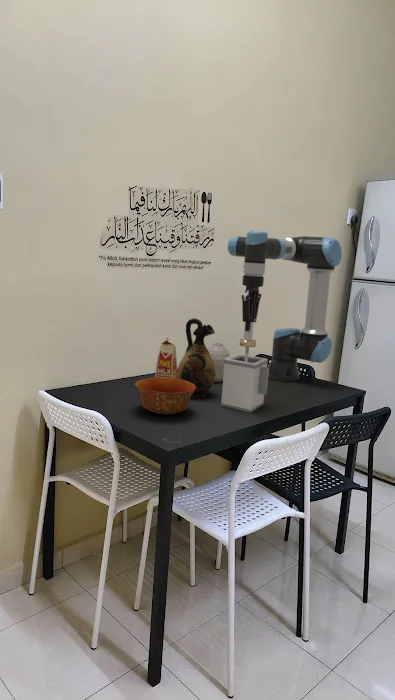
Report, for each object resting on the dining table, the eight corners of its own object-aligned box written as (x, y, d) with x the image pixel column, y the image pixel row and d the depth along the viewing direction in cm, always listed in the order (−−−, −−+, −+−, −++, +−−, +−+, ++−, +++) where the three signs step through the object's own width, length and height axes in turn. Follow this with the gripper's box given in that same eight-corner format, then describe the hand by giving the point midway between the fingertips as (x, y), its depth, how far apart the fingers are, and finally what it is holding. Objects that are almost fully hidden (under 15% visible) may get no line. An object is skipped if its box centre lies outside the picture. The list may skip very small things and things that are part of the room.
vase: (213, 385, 221) (216, 346, 217) (195, 378, 230) (197, 341, 227) (235, 381, 229) (238, 344, 225) (216, 374, 238) (219, 339, 235)
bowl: (150, 398, 196) (151, 373, 194) (202, 408, 189) (204, 382, 187) (123, 414, 177) (124, 386, 175) (180, 425, 170) (181, 396, 168)
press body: (234, 398, 204) (238, 353, 200) (270, 406, 197) (275, 360, 193) (220, 405, 193) (224, 358, 189) (258, 414, 186) (262, 365, 182)
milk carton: (174, 386, 215) (176, 339, 211) (152, 384, 216) (154, 337, 212) (178, 381, 223) (181, 335, 219) (157, 378, 225) (159, 333, 221)
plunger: (237, 391, 201) (241, 336, 197) (259, 395, 197) (264, 340, 192) (226, 396, 193) (231, 339, 189) (249, 401, 188) (254, 343, 184)
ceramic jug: (221, 393, 209) (226, 320, 203) (201, 402, 196) (207, 324, 190) (185, 385, 217) (189, 314, 211) (164, 393, 204) (168, 318, 198)
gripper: (251, 273, 193) (245, 336, 198) (236, 274, 182) (231, 340, 186) (269, 275, 189) (264, 338, 194) (256, 276, 178) (250, 343, 183)
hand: (247, 339), depth 190 cm, fingers closed
